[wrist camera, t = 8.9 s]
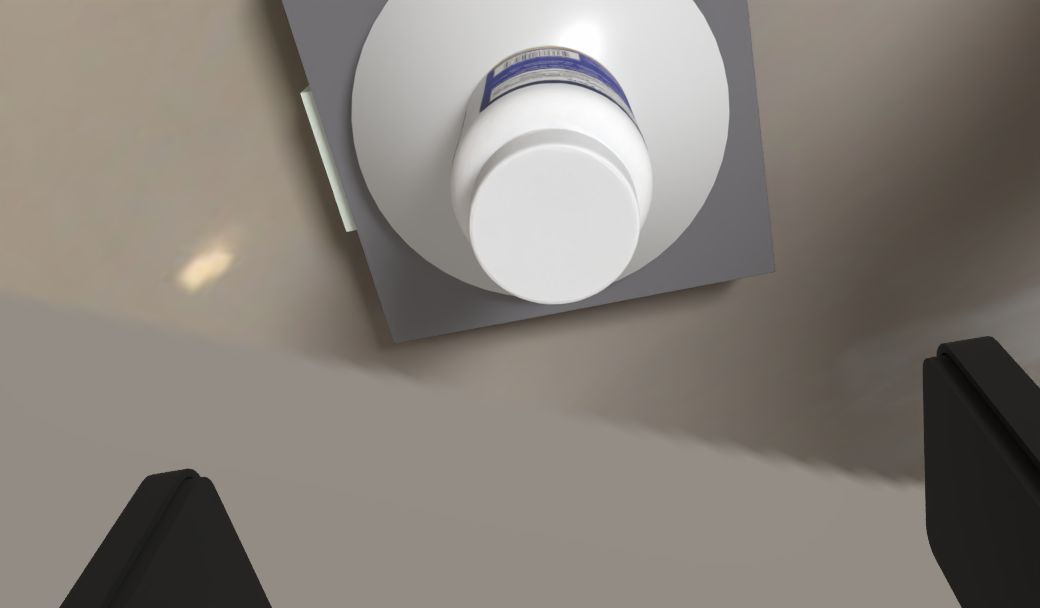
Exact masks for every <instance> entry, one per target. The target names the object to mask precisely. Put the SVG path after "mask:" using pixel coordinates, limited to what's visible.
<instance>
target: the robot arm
mask: <svg viewBox="0 0 1040 608" xmlns="http://www.w3.org/2000/svg"><path fill="white" fill-rule="evenodd" d="M923 407H924V453H925V499H926V529H927V535H928V540H929V544H930V547H931V549H932V552H933V554H934V556H935V559H936V560H937V562H938V564H939V566H940V568H941V570H942V572H943V574H944V575H945V577H946V579H947V581H948V583H949V585H950V587H951V589H952V590H953V592H954V594H955V596H956V598H957V599H958V602H959V603H960V605H961V607H962V608H1040V388H1039V387H1038V386H1037V385H1036V384H1035V383H1034V382H1033V380H1032V379H1031V378H1030V377H1029V376H1028V375H1027V374H1026V373H1025V372H1024V370H1023V369H1022V368H1021V367H1020V366H1019V365H1018V364H1017V363H1016V362H1015V361H1014V359H1013V358H1012V357H1011V356H1010V355H1009V354H1008V353H1007V352H1006V351H1005V349H1004V348H1003V347H1002V346H1001V345H1000V344H999V343H998V342H997V341H996V340H995V339H994V338H993V337H990V336H986V337H979V338H973V339H967V340H961V341H955V342H949V343H943V344H941V345H940V346H939V347H938V350H937V357H931V358H926V359H925V360H924V363H923ZM60 608H272V607H271V605H270V603H269V601H268V599H267V597H266V594H265V592H264V590H263V588H262V586H261V584H260V582H259V580H258V577H257V575H256V573H255V571H254V569H253V567H252V565H251V563H250V561H249V558H248V556H247V554H246V552H245V550H244V548H243V546H242V544H241V541H240V540H239V537H238V535H237V533H236V531H235V529H234V527H233V525H232V523H231V520H230V518H229V516H228V514H227V512H226V510H225V508H224V505H223V503H222V501H221V499H220V497H219V495H218V493H217V491H216V489H215V487H214V485H213V483H212V482H211V480H209V479H208V478H207V477H200V476H199V474H198V473H197V472H196V471H194V470H193V469H183V470H177V471H171V472H165V473H159V474H153V475H150V476H147V477H146V478H145V479H144V480H143V481H142V483H141V484H140V486H139V487H138V489H137V490H136V492H135V494H134V495H133V497H132V498H131V500H130V501H129V503H128V504H127V506H126V507H125V509H124V510H123V512H122V513H121V515H120V516H119V518H118V519H117V521H116V522H115V524H114V525H113V527H112V529H111V530H110V532H109V533H108V535H107V536H106V538H105V539H104V541H103V542H102V544H101V545H100V547H99V548H98V550H97V551H96V553H95V554H94V556H93V557H92V559H91V561H90V562H89V563H88V565H87V566H86V568H85V570H84V571H83V573H82V574H81V576H80V577H79V579H78V580H77V582H76V583H75V585H74V586H73V588H72V589H71V591H70V592H69V594H68V595H67V597H66V598H65V600H64V602H63V603H62V604H61V606H60Z"/></svg>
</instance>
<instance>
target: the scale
mask: <svg viewBox="0 0 1040 608" xmlns="http://www.w3.org/2000/svg"><path fill="white" fill-rule="evenodd" d="M282 3H283V6H284V9H285V12H286V15H287V18H288V21H289V24H290V28H291V31H292V34H293V37H294V40H295V43H296V46H297V49H298V52H299V55H300V58H301V61H302V64H303V67H304V70H305V73H306V76H307V80H308V83H309V85H308V86H307V87H306V88H305V89H304V90H303V91H302V92H301V93H300V94H301V97H302V100H303V103H304V106H305V109H306V112H307V115H308V118H309V121H310V124H311V127H312V130H313V133H314V136H315V139H316V142H317V145H318V148H319V151H320V154H321V157H322V160H323V163H324V166H325V169H326V172H327V175H328V178H329V181H330V184H331V187H332V190H333V193H334V196H335V199H336V202H337V205H338V208H339V211H340V214H341V217H342V220H343V223H344V226H345V229H346V232H348V231H353V230H357V232H358V235H359V239H360V242H361V245H362V248H363V251H364V254H365V257H366V260H367V263H368V266H369V269H370V272H371V275H372V278H373V281H374V284H375V287H376V291H377V294H378V297H379V300H380V303H381V306H382V309H383V312H384V315H385V318H386V321H387V324H388V327H389V330H390V333H391V336H392V339H393V342H394V344H396V343H401V342H406V341H412V340H417V339H422V338H428V337H433V336H438V335H444V334H449V333H454V332H459V331H465V330H470V329H475V328H481V327H486V326H491V325H496V324H502V323H507V322H512V321H518V320H523V319H528V318H534V317H539V316H544V315H549V314H555V313H560V312H565V311H571V310H576V309H581V308H587V307H592V306H597V305H602V304H608V303H613V302H618V301H624V300H629V299H634V298H639V297H645V296H650V295H655V294H661V293H666V292H671V291H677V290H682V289H687V288H692V287H698V286H703V285H708V284H714V283H719V282H724V281H730V280H735V279H740V278H745V277H751V276H756V275H761V274H767V273H772V272H775V264H774V254H773V245H772V235H771V225H770V216H769V206H768V196H767V187H766V177H765V167H764V158H763V148H762V139H761V129H760V119H759V110H758V100H757V90H756V81H755V71H754V61H753V52H752V42H751V32H750V23H749V13H748V4H747V0H282ZM543 45H556V46H564V47H569V48H573V49H576V50H579V51H581V52H584V53H586V54H588V55H589V56H591V57H593V58H595V59H596V60H598V61H599V62H600V63H601V64H603V65H604V66H605V67H606V68H607V69H608V70H609V71H610V72H611V73H612V74H613V75H614V77H615V78H616V79H617V81H618V82H619V84H620V85H621V87H622V89H623V91H624V93H625V95H626V97H627V100H628V102H629V105H630V107H631V110H632V112H633V115H634V117H635V119H636V122H637V124H638V126H639V129H640V131H641V133H642V136H643V138H644V141H645V144H646V146H647V150H648V153H649V157H650V161H651V166H652V172H653V194H652V201H651V205H650V209H649V212H648V215H647V218H646V220H645V223H644V225H643V227H642V229H641V230H640V233H639V239H638V243H637V246H636V249H635V252H634V254H633V256H632V258H631V260H630V262H629V263H628V265H627V267H626V268H625V270H624V271H623V272H622V273H621V275H620V276H619V277H618V278H617V279H616V280H615V281H614V282H612V283H611V284H610V285H609V286H608V287H606V288H605V289H604V290H602V291H600V292H599V293H597V294H595V295H593V296H591V297H588V298H586V299H583V300H580V301H576V302H572V303H565V304H541V303H535V302H531V301H527V300H524V299H521V298H519V297H517V296H514V295H512V294H510V293H509V292H507V291H505V290H504V289H502V288H501V287H500V286H498V285H497V284H496V283H495V282H494V281H493V280H492V279H491V278H490V277H489V276H488V275H487V274H486V273H485V272H484V270H483V269H482V267H481V266H480V264H479V262H478V261H477V259H476V257H475V254H474V252H473V249H472V247H471V244H470V242H469V241H468V239H467V238H466V236H465V235H464V233H463V232H462V230H461V228H460V226H459V224H458V221H457V219H456V216H455V213H454V209H453V205H452V200H451V192H450V178H451V168H452V163H453V158H454V154H455V151H456V147H457V144H458V140H459V137H460V134H461V130H462V126H463V122H464V118H465V114H466V111H467V108H468V105H469V102H470V99H471V97H472V94H473V92H474V90H475V89H476V87H477V85H478V84H479V82H480V81H481V80H482V78H483V77H484V76H485V75H486V74H487V73H488V72H489V71H490V70H491V69H492V68H493V67H494V66H495V65H496V64H497V63H499V62H500V61H501V60H503V59H504V58H506V57H507V56H509V55H511V54H513V53H515V52H518V51H520V50H523V49H526V48H530V47H535V46H543Z"/></svg>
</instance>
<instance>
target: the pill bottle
mask: <svg viewBox="0 0 1040 608" xmlns="http://www.w3.org/2000/svg"><path fill="white" fill-rule="evenodd" d="M450 192H451V200H452V205H453V209H454V213H455V216H456V219H457V221H458V224H459V226H460V228H461V230H462V232H463V233H464V235H465V236H466V238H467V239H468V241H469V242H470V244H471V247H472V249H473V252H474V254H475V257H476V259H477V261H478V262H479V264H480V266H481V267H482V269H483V270H484V272H485V273H486V274H487V275H488V276H489V277H490V278H491V279H492V280H493V281H494V282H495V283H496V284H497V285H498V286H500V287H501V288H502V289H504V290H505V291H507V292H509V293H510V294H512V295H514V296H517V297H519V298H521V299H524V300H527V301H531V302H535V303H541V304H565V303H572V302H576V301H580V300H583V299H586V298H588V297H591V296H593V295H595V294H597V293H599V292H600V291H602V290H604V289H605V288H606V287H608V286H609V285H610V284H611V283H612V282H614V281H615V280H616V279H617V278H618V277H619V276H620V275H621V273H622V272H623V271H624V270H625V268H626V267H627V265H628V263H629V262H630V260H631V258H632V256H633V254H634V252H635V249H636V246H637V243H638V239H639V233H640V230H641V229H642V227H643V225H644V223H645V220H646V218H647V215H648V212H649V209H650V205H651V201H652V194H653V172H652V166H651V161H650V157H649V153H648V150H647V146H646V144H645V141H644V138H643V136H642V133H641V131H640V129H639V126H638V124H637V122H636V119H635V117H634V115H633V112H632V110H631V107H630V105H629V102H628V100H627V97H626V95H625V93H624V91H623V89H622V87H621V85H620V84H619V82H618V81H617V79H616V78H615V77H614V75H613V74H612V73H611V72H610V71H609V70H608V69H607V68H606V67H605V66H604V65H603V64H601V63H600V62H599V61H598V60H596V59H595V58H593V57H591V56H589V55H588V54H586V53H584V52H581V51H579V50H576V49H573V48H569V47H564V46H556V45H543V46H535V47H530V48H526V49H523V50H520V51H518V52H515V53H513V54H511V55H509V56H507V57H506V58H504V59H503V60H501V61H500V62H499V63H497V64H496V65H495V66H494V67H493V68H492V69H491V70H490V71H489V72H488V73H487V74H486V75H485V76H484V77H483V78H482V80H481V81H480V82H479V84H478V85H477V87H476V89H475V90H474V92H473V94H472V97H471V99H470V102H469V105H468V108H467V111H466V114H465V118H464V122H463V126H462V130H461V134H460V137H459V140H458V144H457V147H456V151H455V154H454V158H453V163H452V168H451V178H450Z"/></svg>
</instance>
